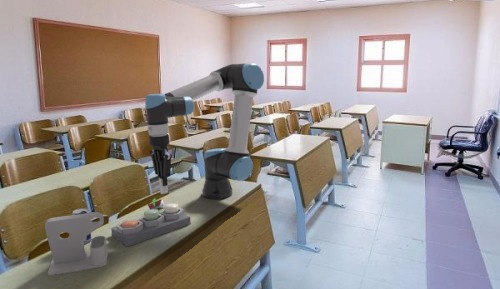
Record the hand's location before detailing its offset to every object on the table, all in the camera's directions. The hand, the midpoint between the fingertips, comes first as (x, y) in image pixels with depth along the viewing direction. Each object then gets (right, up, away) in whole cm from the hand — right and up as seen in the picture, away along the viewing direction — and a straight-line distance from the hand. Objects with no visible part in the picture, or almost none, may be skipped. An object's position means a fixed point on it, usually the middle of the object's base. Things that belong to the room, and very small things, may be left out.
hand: (164, 192), depth 143 cm
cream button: (+2, -8, +4) cm, 9 cm away
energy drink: (-27, -17, -11) cm, 34 cm away
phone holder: (-21, -20, -26) cm, 39 cm away
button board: (-4, -14, -2) cm, 15 cm away
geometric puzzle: (-7, -11, +15) cm, 20 cm away
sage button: (-4, -9, -3) cm, 11 cm away
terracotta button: (-11, -12, -8) cm, 18 cm away
